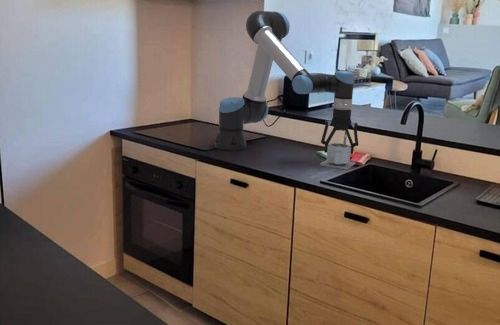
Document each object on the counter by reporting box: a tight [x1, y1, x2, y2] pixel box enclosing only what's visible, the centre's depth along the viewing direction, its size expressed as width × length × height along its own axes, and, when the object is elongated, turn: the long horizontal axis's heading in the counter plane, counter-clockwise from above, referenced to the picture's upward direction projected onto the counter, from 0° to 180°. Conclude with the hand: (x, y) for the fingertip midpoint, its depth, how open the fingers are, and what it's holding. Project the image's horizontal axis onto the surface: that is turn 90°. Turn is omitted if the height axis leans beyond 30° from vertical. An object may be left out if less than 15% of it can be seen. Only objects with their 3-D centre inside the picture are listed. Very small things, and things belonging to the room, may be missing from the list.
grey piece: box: [328, 142, 350, 164], centre depth 223 cm, size 11×8×7 cm
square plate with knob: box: [319, 159, 356, 170], centre depth 225 cm, size 12×12×7 cm
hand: (338, 160), depth 225 cm, fingers closed on grey piece, 8 cm apart
